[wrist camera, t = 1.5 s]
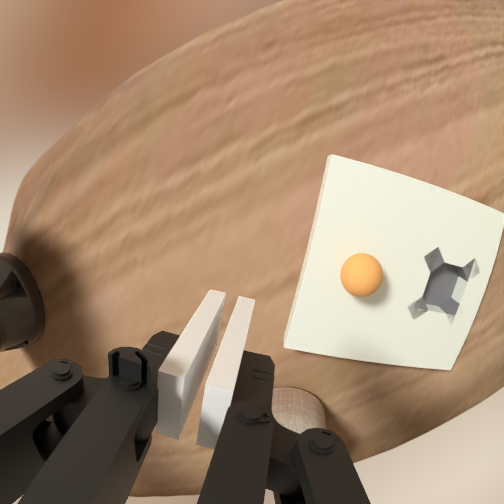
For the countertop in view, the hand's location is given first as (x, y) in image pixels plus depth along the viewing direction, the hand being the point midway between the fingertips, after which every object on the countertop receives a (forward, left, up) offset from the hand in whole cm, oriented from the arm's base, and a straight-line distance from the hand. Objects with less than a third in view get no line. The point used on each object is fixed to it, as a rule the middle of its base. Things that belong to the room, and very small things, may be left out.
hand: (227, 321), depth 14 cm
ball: (+10, 0, -14) cm, 17 cm away
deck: (+16, 0, -18) cm, 24 cm away
